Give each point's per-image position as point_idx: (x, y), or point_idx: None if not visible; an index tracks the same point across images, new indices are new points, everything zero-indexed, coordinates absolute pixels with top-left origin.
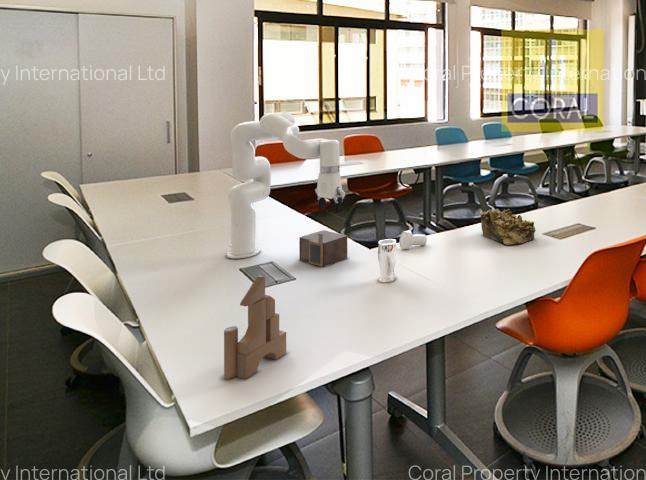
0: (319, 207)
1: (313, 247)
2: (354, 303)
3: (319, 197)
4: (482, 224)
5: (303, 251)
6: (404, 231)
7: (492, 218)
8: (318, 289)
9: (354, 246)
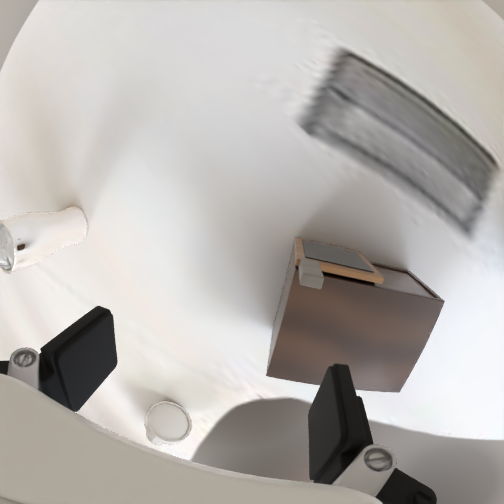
0: (338, 379)
1: (348, 262)
2: (67, 96)
3: (360, 480)
4: None
5: (405, 279)
6: (164, 439)
7: None
8: (176, 97)
9: None
